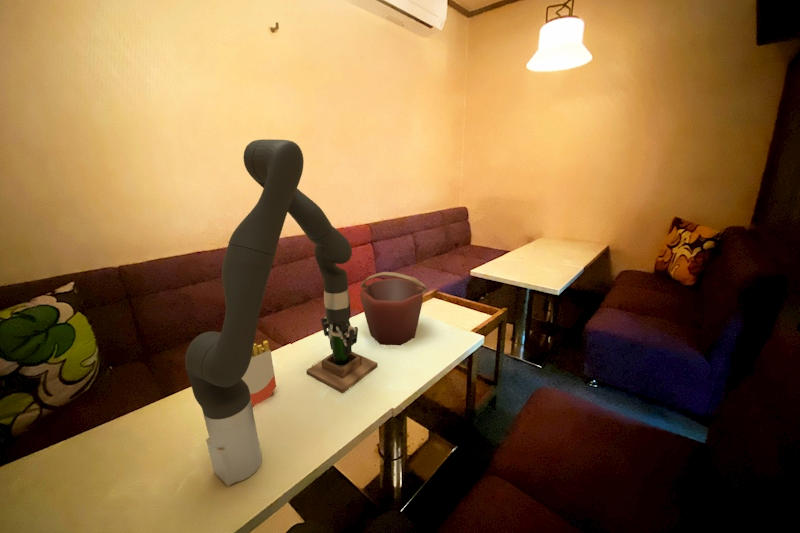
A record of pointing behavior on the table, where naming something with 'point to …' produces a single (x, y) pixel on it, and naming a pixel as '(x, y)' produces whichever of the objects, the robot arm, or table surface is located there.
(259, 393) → the french fries container
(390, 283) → the bucket
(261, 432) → the table surface
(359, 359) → the can holder
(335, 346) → the beer can
